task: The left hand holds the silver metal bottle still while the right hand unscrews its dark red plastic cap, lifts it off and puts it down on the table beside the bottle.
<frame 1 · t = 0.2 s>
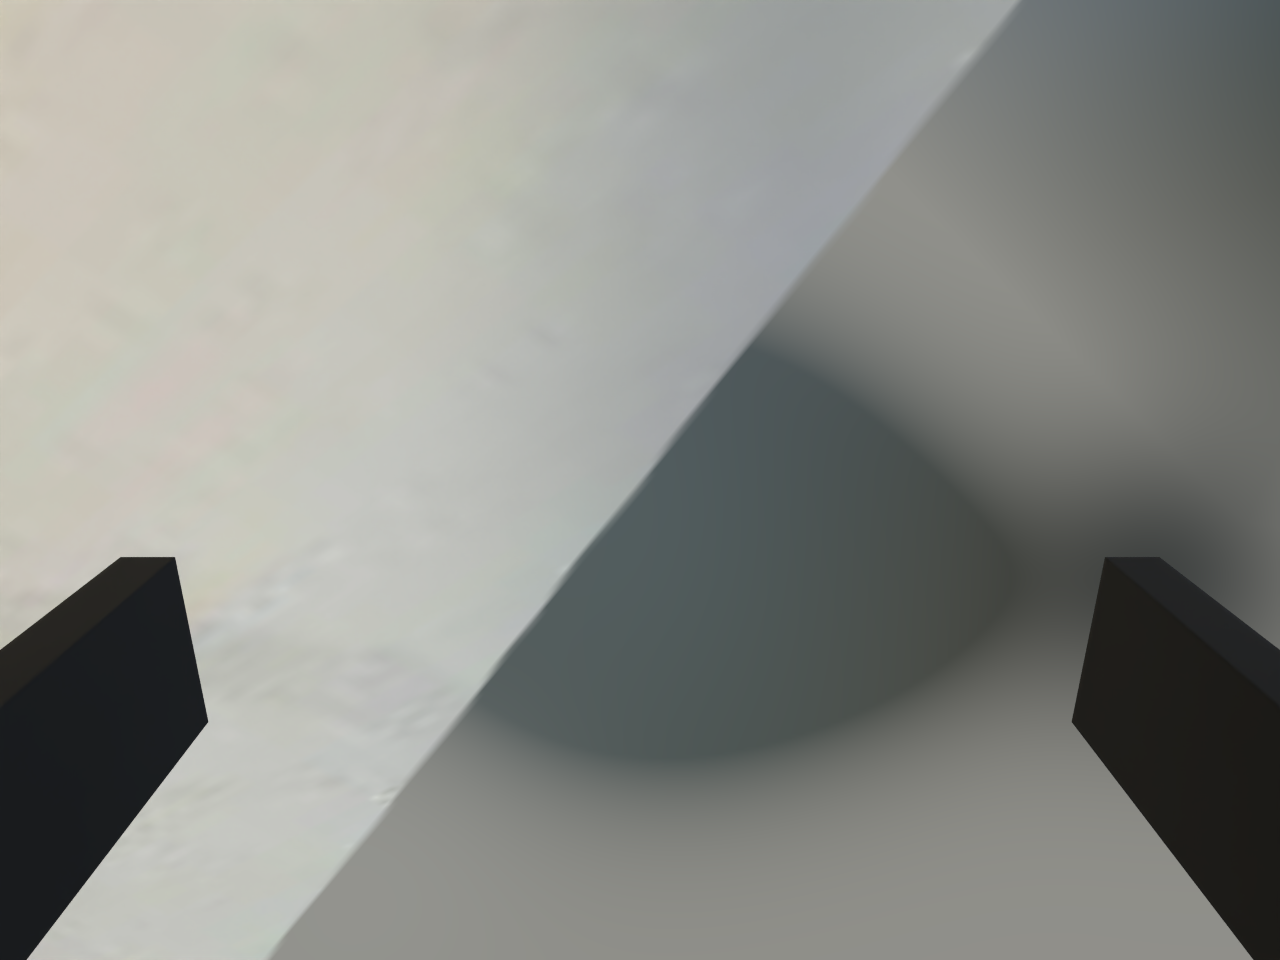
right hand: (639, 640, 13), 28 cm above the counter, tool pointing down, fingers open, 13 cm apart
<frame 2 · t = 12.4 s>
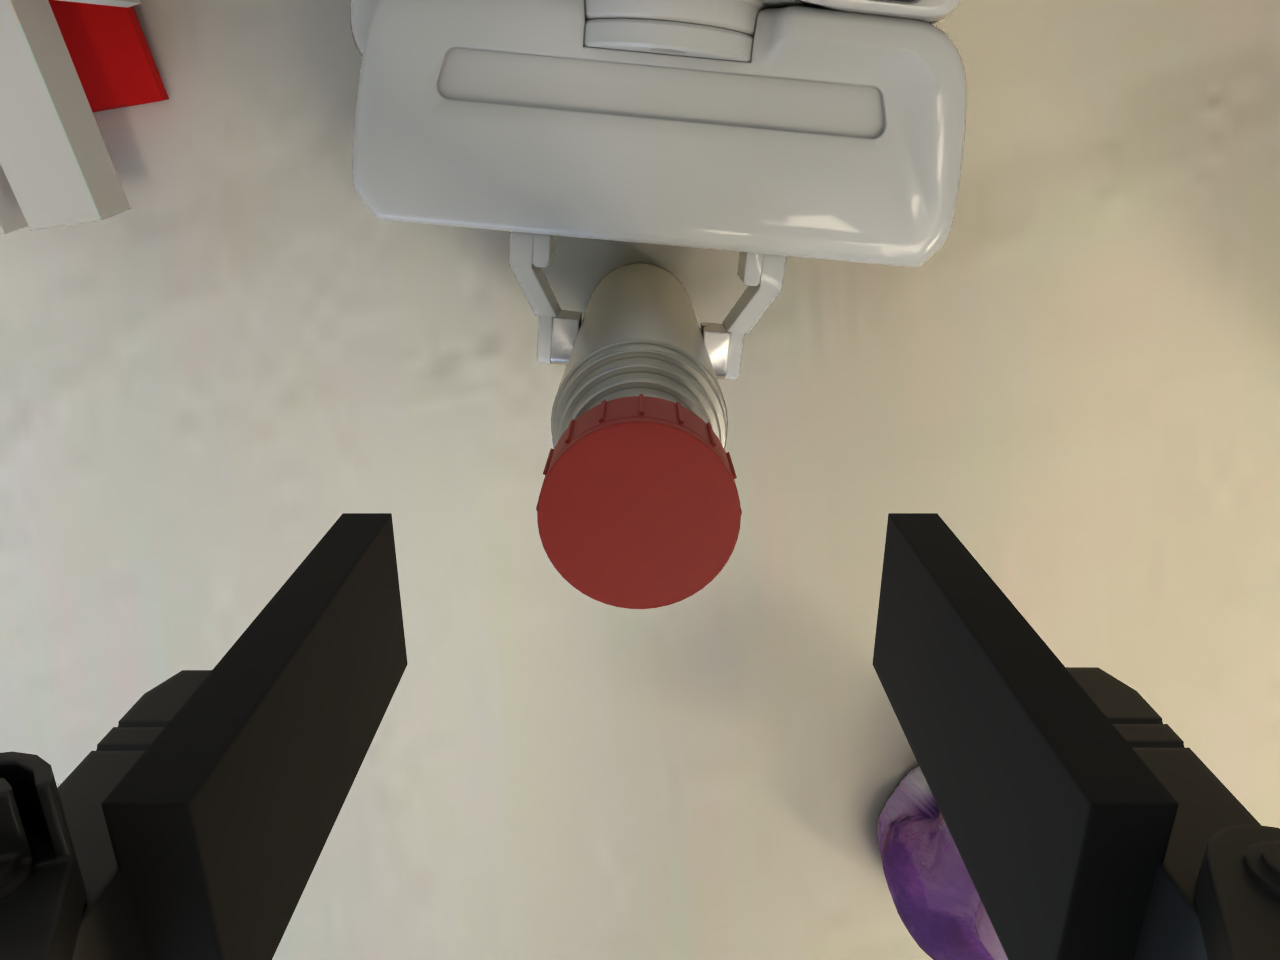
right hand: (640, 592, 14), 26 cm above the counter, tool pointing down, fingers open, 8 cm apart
left hand: (638, 368, 33), fingers closed on bottle, 4 cm apart
bottle: (639, 316, 38), on the counter, touching left hand
cap: (639, 513, 17), point 22 cm above the counter, screwed on, not yet turned
figurine: (946, 806, 47), on the counter
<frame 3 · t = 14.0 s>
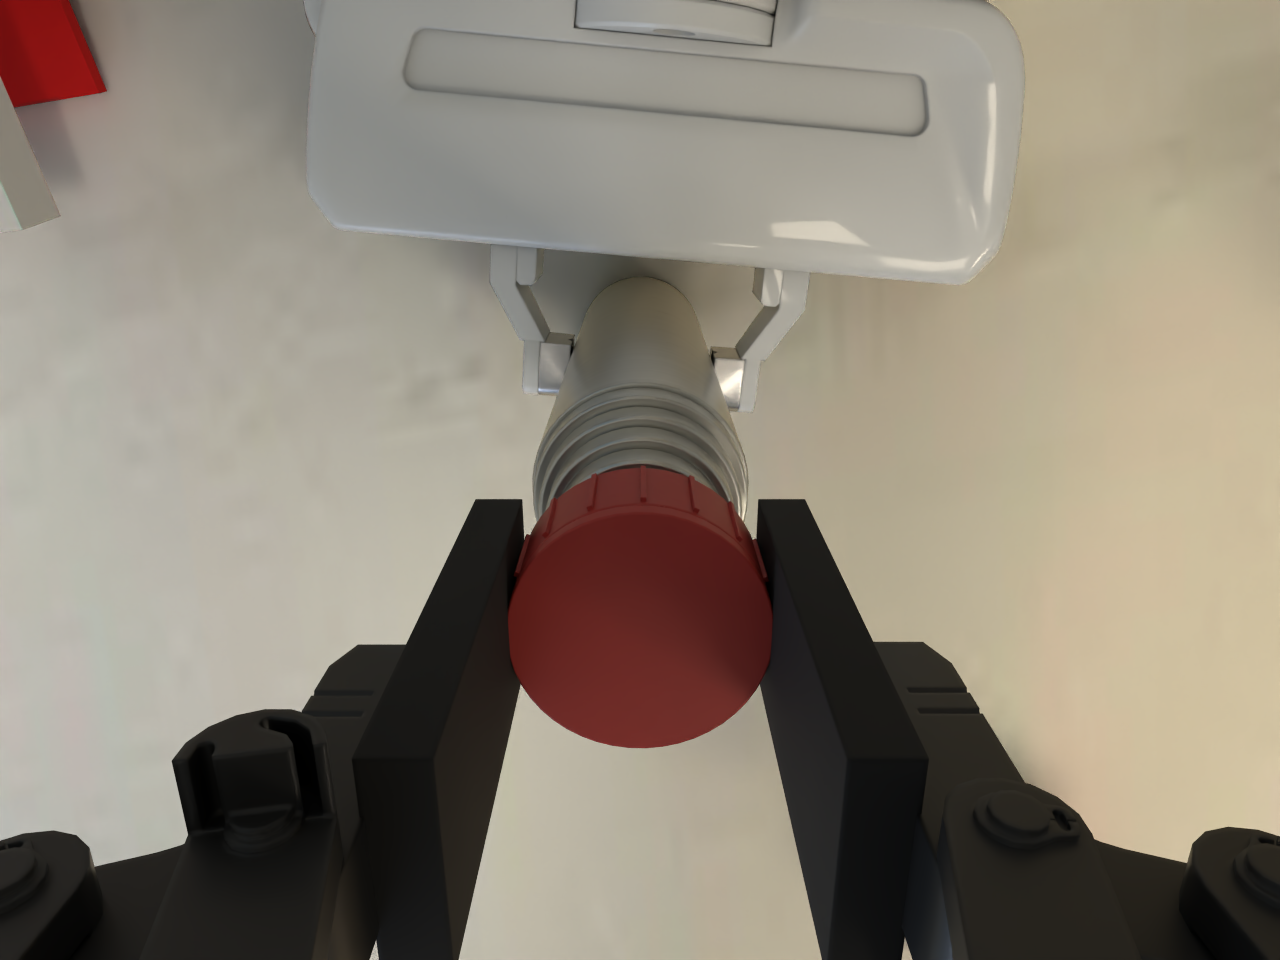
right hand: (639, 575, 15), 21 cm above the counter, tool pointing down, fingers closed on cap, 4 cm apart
left hand: (639, 399, 29), fingers closed on bottle, 4 cm apart
bottle: (640, 336, 34), on the counter, touching left hand
cap: (640, 626, 13), point 22 cm above the counter, screwed on, not yet turned, touching right hand
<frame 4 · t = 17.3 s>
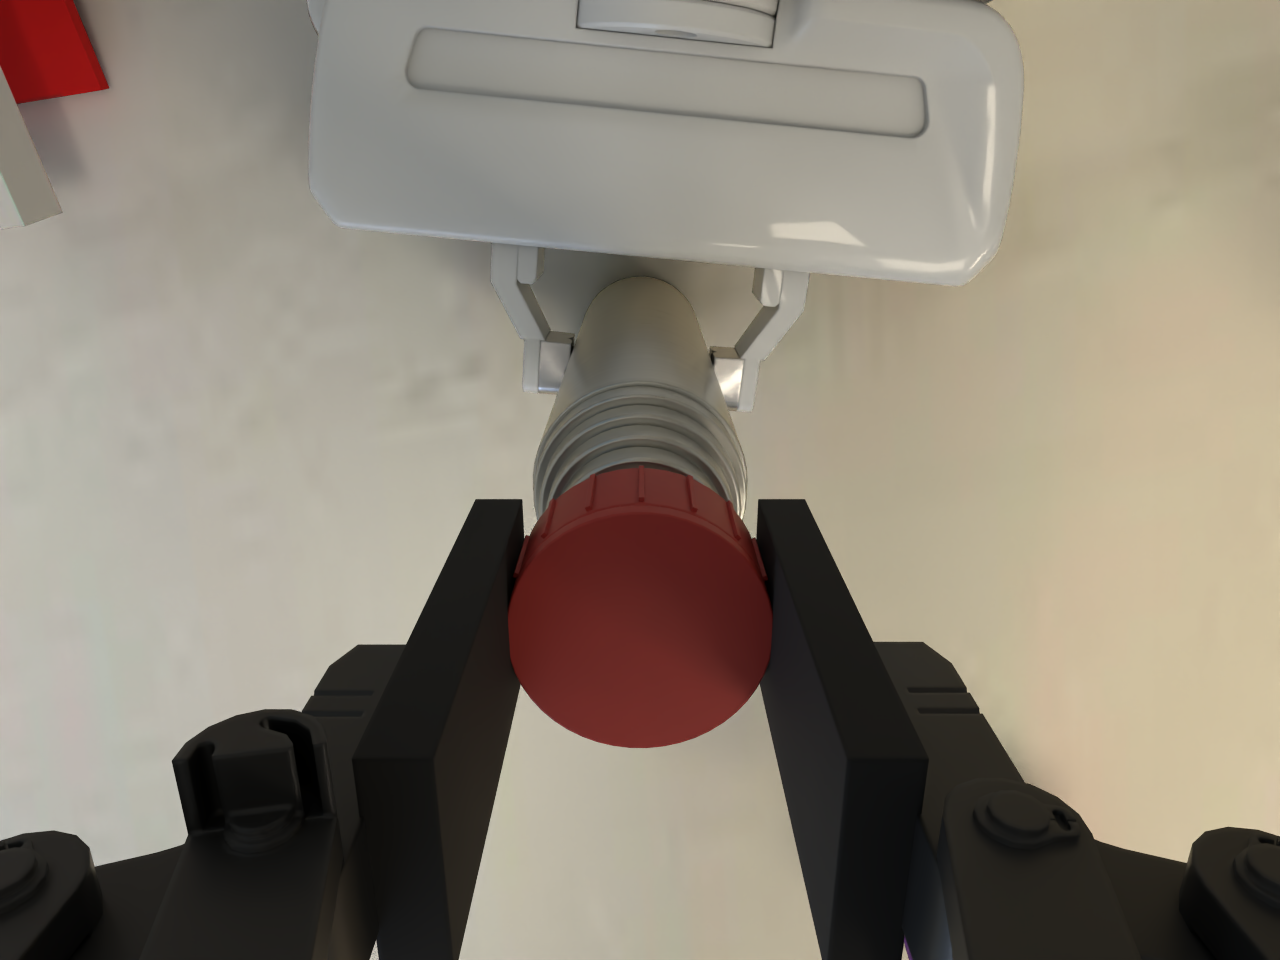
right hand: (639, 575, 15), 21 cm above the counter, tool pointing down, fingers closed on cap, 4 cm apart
left hand: (638, 398, 29), fingers closed on bottle, 4 cm apart
bottle: (640, 335, 34), on the counter, touching left hand
cap: (639, 626, 13), point 23 cm above the counter, turned 113° so far, risen 0.1 cm, still on its thread, touching right hand
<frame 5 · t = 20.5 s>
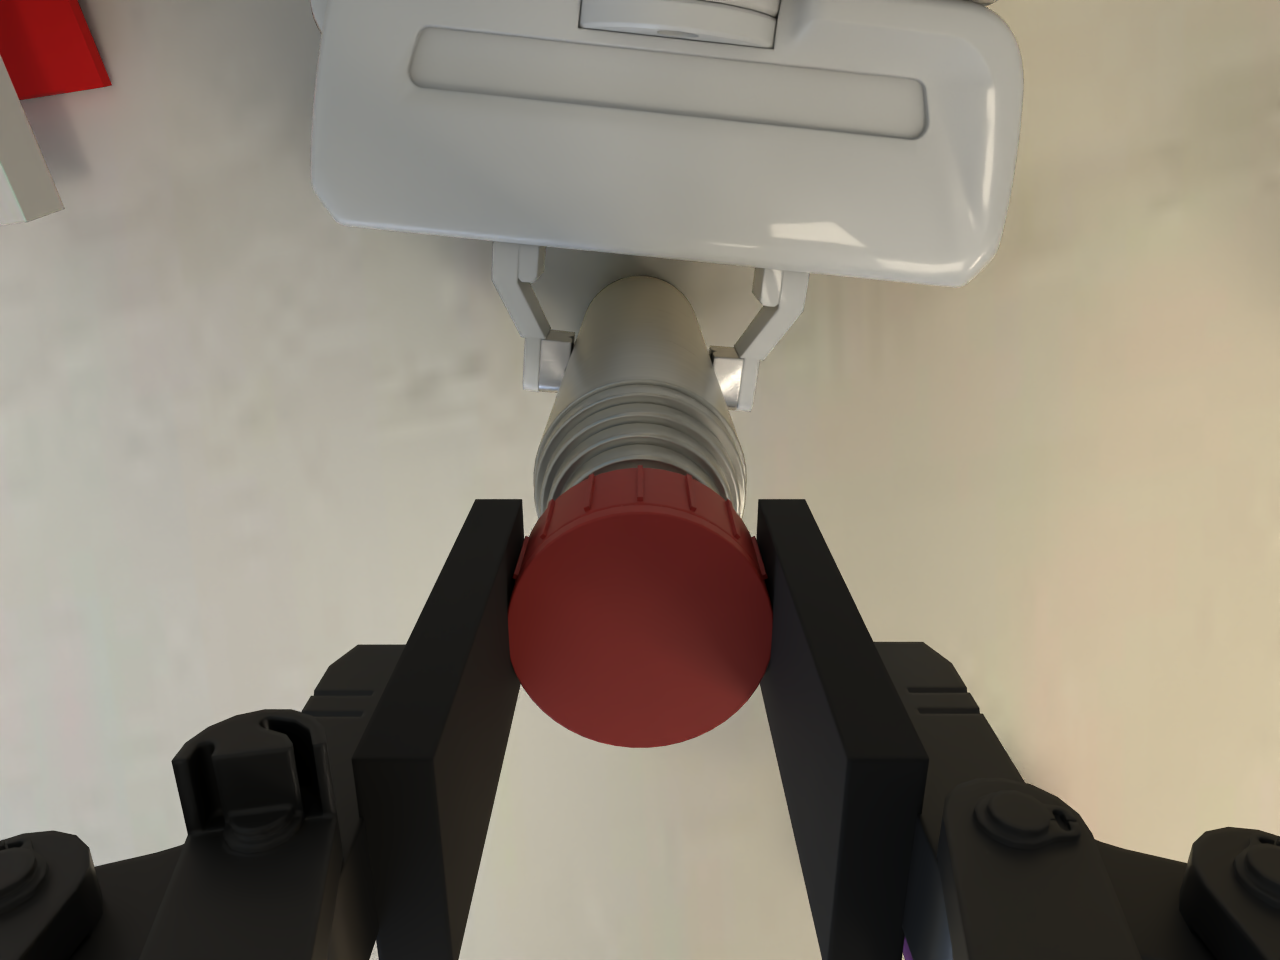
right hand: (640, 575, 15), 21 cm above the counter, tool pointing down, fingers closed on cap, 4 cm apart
left hand: (638, 397, 29), fingers closed on bottle, 4 cm apart
bottle: (640, 335, 34), on the counter, touching left hand
cap: (640, 626, 13), point 23 cm above the counter, turned 227° so far, risen 0.2 cm, still on its thread, touching right hand
when the right hand's fingers open (1 cm above the counter, at t = 31.2 s): cap drops 1 cm, point 2 cm above the counter.
when the left hand's fingers open (6 cm above the counter, at t = 32.5 s): bottle stays where it is, on the counter.
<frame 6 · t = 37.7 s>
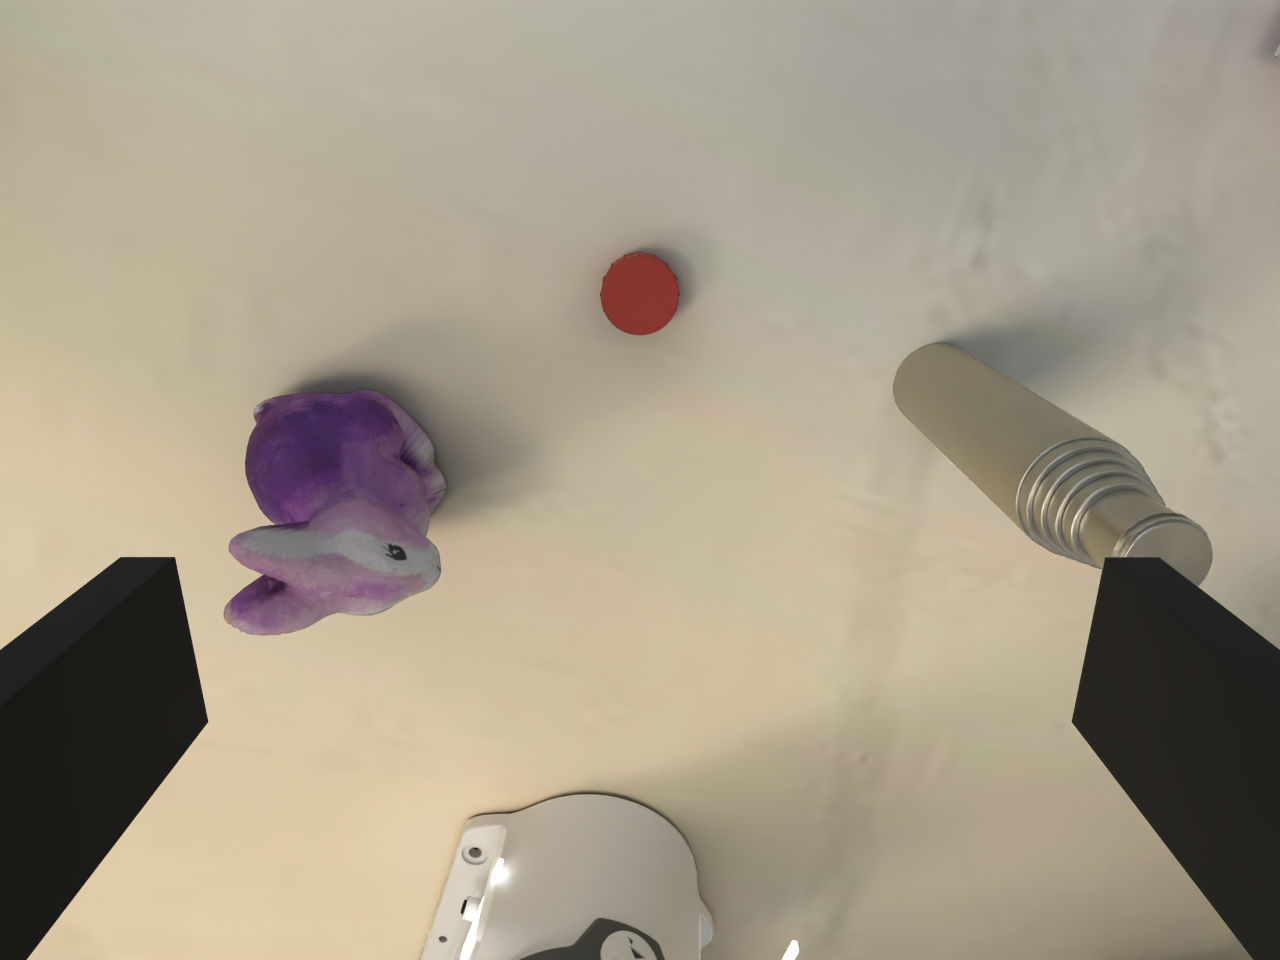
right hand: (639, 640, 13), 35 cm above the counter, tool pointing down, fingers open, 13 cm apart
bottle: (935, 384, 48), on the counter
cap: (639, 295, 44), point 2 cm above the counter, off its thread
figurine: (375, 456, 49), on the counter
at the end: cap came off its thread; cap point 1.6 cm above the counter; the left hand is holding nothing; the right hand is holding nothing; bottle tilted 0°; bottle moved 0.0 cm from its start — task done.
